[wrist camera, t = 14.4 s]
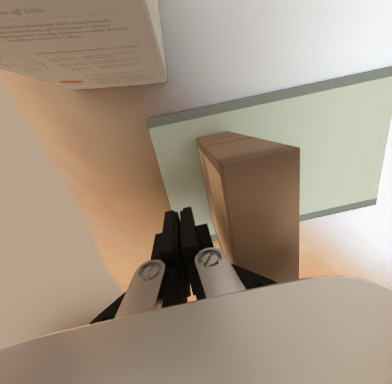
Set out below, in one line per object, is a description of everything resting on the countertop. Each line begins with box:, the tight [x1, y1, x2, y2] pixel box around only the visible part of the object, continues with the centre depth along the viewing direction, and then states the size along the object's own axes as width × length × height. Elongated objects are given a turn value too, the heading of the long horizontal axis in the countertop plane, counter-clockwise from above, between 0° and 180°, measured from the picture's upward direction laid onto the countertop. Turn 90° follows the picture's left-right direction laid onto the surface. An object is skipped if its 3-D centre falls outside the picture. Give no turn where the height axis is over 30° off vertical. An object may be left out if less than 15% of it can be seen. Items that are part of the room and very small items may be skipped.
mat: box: [146, 66, 392, 241], centre depth 19 cm, size 14×23×1 cm, turn 101°
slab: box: [196, 131, 300, 283], centre depth 14 cm, size 9×3×11 cm, turn 11°
